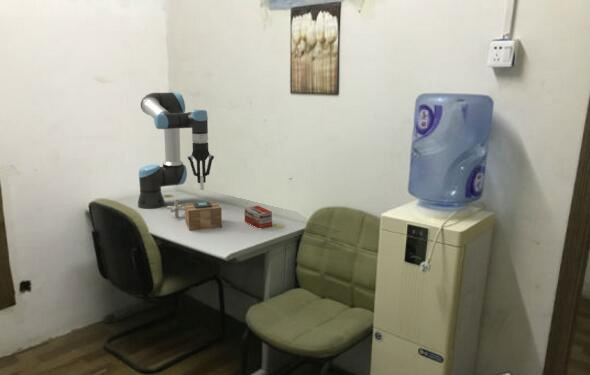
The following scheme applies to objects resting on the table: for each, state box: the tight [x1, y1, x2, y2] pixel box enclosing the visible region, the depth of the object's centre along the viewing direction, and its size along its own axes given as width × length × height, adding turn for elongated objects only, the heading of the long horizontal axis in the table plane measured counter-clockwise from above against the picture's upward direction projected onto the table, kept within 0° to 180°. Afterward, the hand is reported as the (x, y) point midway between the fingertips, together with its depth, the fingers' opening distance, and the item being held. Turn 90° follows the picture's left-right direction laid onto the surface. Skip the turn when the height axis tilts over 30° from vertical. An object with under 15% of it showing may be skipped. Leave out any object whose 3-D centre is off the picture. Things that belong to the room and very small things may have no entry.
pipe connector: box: [166, 198, 185, 219], centre depth 241 cm, size 10×10×10 cm
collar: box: [192, 201, 212, 209], centre depth 228 cm, size 8×8×1 cm
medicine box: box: [244, 205, 273, 229], centre depth 231 cm, size 15×8×8 cm, turn 35°
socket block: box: [184, 200, 223, 231], centre depth 229 cm, size 14×16×10 cm
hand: (201, 189), depth 226 cm, fingers closed
